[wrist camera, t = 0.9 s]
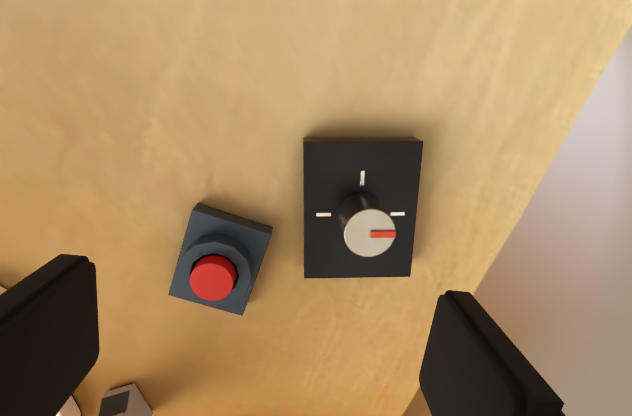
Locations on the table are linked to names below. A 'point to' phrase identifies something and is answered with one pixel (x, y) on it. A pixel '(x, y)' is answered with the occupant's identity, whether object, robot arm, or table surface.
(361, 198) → the hob knob
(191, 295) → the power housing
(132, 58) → the table surface
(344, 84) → the table surface
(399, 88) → the table surface
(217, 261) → the power button
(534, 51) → the table surface
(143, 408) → the vintage mobile phone
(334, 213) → the panel
